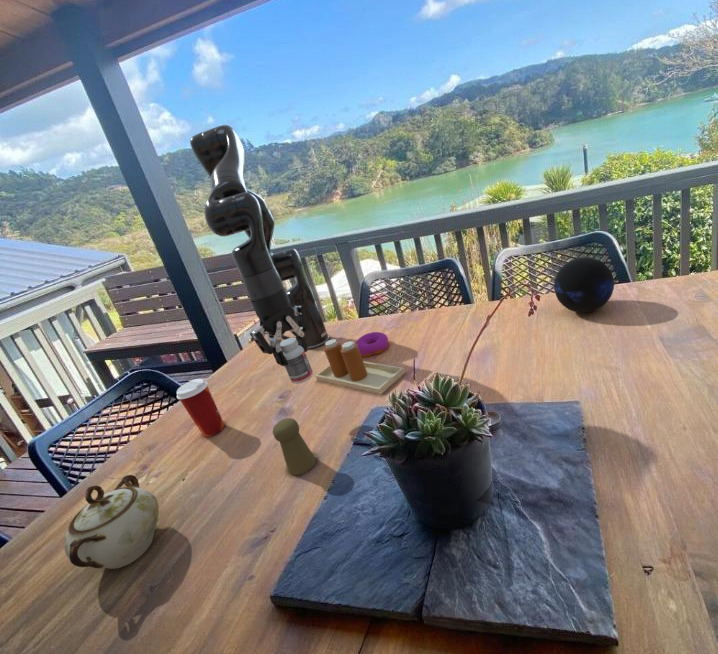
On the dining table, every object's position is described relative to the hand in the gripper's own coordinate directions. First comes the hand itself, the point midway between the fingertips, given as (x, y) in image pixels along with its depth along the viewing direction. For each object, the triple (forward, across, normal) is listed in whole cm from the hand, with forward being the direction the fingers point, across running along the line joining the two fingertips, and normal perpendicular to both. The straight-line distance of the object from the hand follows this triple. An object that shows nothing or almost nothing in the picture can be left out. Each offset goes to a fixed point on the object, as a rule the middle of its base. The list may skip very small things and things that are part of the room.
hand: (294, 357), depth 99 cm
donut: (+18, -32, -10) cm, 38 cm away
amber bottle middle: (+17, -18, -3) cm, 25 cm away
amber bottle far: (+17, -18, -10) cm, 27 cm away
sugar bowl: (+17, +43, -7) cm, 47 cm away
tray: (+17, -18, -3) cm, 25 cm away
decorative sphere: (+18, -65, +43) cm, 80 cm away
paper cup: (+18, +14, -28) cm, 36 cm away
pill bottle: (+6, 0, 0) cm, 6 cm away
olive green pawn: (+17, +13, +9) cm, 24 cm away
